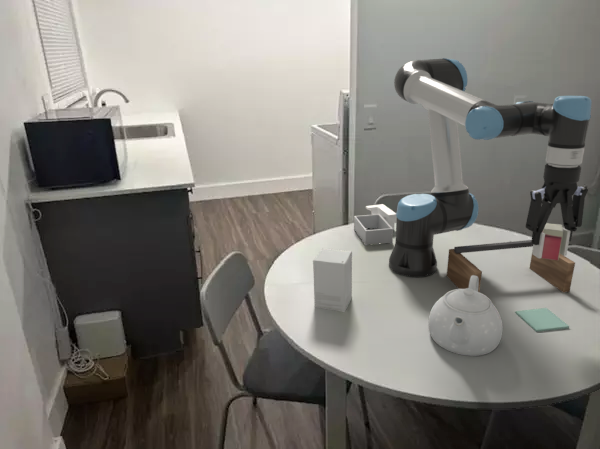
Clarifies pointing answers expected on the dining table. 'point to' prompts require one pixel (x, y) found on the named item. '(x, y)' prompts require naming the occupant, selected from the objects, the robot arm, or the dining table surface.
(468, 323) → the teapot
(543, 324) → the pad
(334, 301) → the supplement box
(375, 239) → the box
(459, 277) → the rack
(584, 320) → the dining table surface
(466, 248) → the tie bar
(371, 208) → the bracket
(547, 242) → the small box
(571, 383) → the dining table surface
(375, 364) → the dining table surface
